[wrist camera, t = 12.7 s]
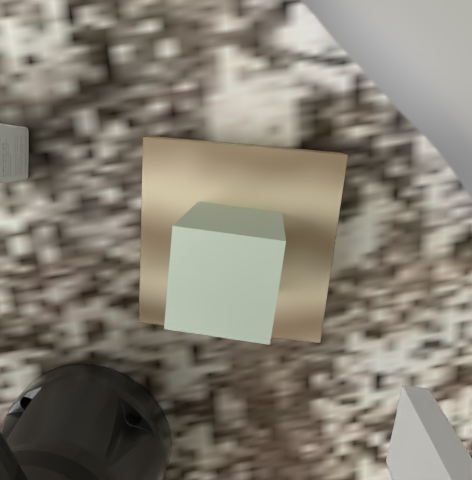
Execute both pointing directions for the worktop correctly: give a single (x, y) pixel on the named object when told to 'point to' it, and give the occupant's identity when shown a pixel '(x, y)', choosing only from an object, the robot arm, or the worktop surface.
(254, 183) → the birch block
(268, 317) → the sage block
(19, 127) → the skincare box
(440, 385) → the worktop surface
